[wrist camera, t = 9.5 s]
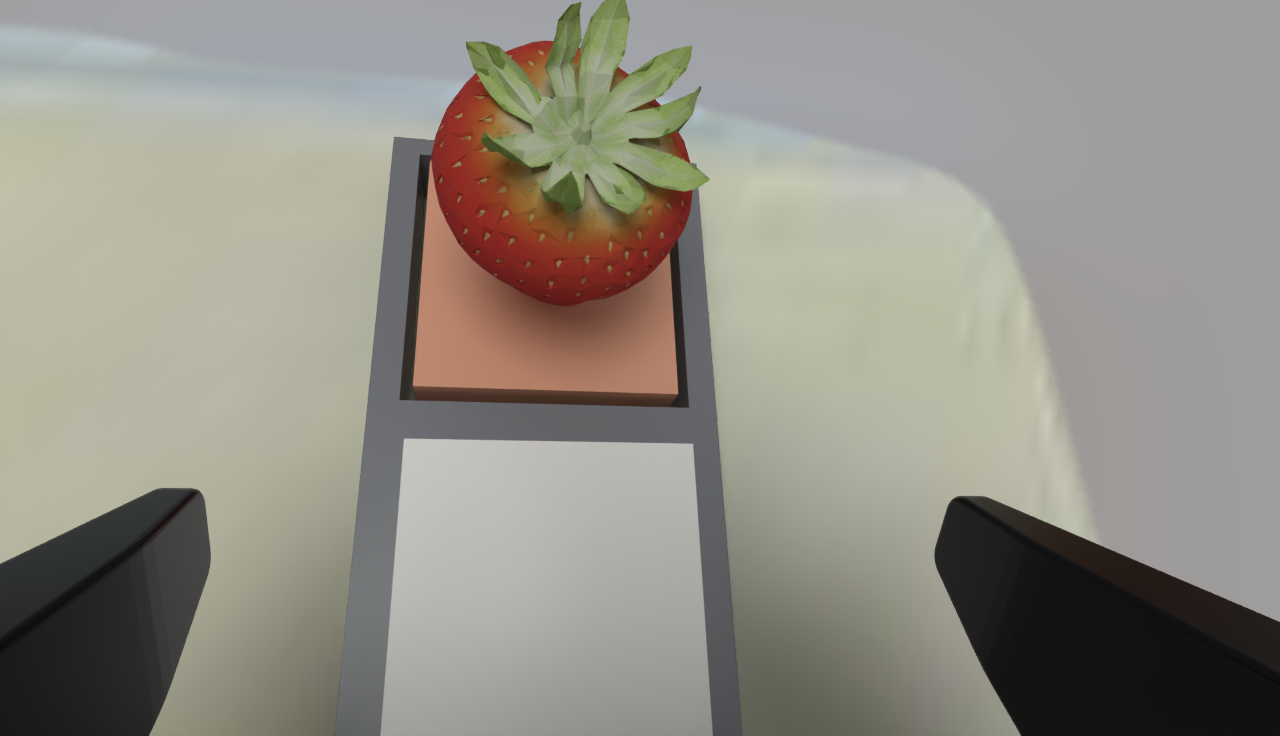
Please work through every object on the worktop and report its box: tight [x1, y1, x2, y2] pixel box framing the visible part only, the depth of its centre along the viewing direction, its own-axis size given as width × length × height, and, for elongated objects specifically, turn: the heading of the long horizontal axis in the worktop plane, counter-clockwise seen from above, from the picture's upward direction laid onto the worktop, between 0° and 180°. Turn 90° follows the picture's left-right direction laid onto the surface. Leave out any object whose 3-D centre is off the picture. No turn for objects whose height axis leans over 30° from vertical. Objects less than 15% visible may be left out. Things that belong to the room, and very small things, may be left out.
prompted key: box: [413, 161, 678, 407], centre depth 21 cm, size 6×6×2 cm
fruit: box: [431, 0, 710, 306], centre depth 16 cm, size 5×5×8 cm
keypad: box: [335, 137, 742, 736], centre depth 18 cm, size 22×8×3 cm, turn 2°
